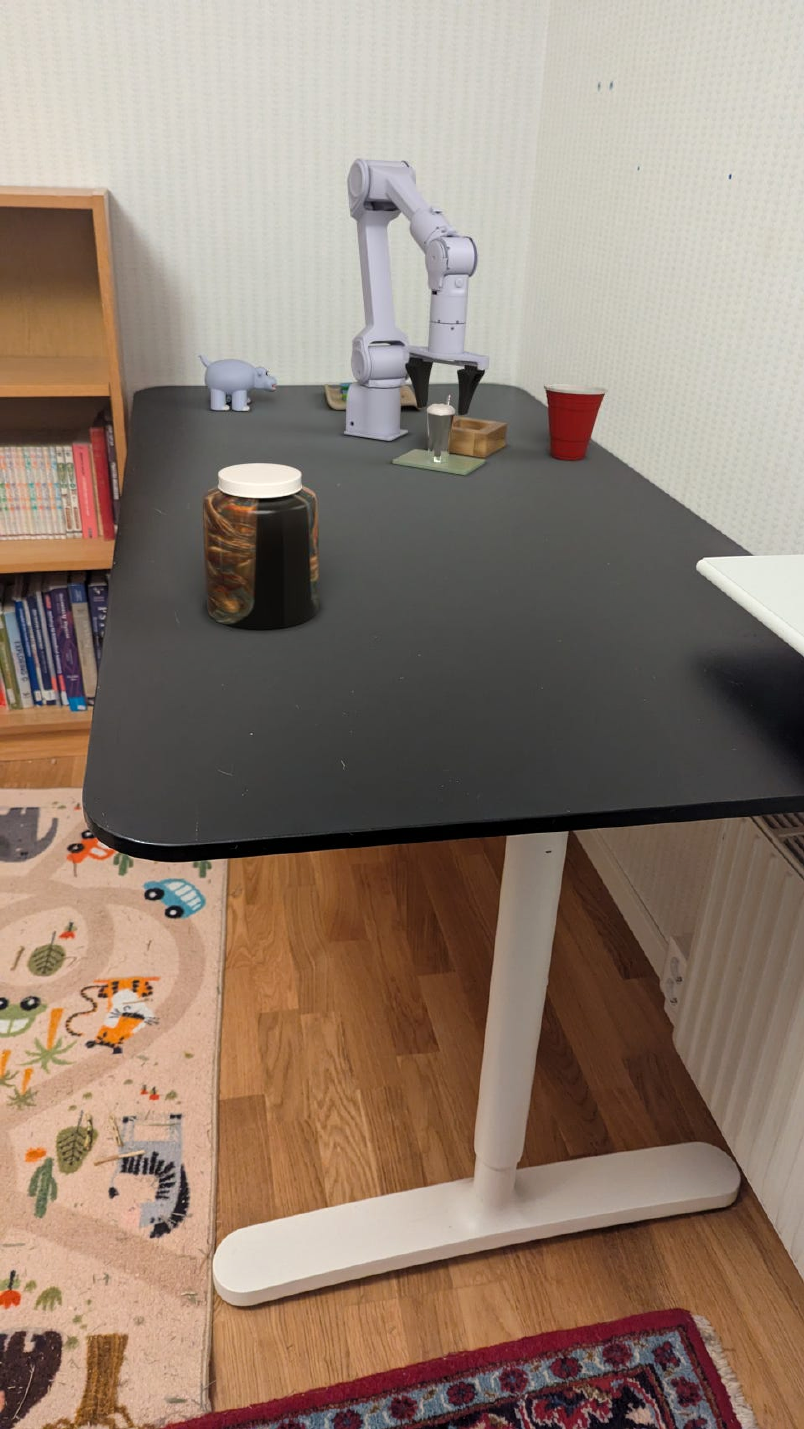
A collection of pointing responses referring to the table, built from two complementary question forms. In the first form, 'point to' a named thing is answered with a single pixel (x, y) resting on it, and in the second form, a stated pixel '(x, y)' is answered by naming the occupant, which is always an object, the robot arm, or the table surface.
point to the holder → (477, 436)
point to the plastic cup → (572, 418)
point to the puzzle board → (339, 396)
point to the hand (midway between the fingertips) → (442, 410)
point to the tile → (451, 466)
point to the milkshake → (439, 430)
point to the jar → (261, 547)
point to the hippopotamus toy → (234, 382)
